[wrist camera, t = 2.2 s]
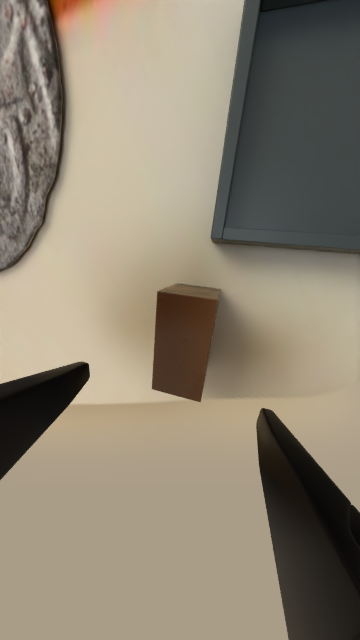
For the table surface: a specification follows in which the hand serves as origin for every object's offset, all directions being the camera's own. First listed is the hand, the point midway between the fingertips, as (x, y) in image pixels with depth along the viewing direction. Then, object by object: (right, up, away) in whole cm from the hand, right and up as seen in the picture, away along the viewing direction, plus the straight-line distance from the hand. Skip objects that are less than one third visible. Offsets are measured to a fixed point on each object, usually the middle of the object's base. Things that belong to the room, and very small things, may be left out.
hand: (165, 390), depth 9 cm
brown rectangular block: (+2, +3, +8) cm, 9 cm away
